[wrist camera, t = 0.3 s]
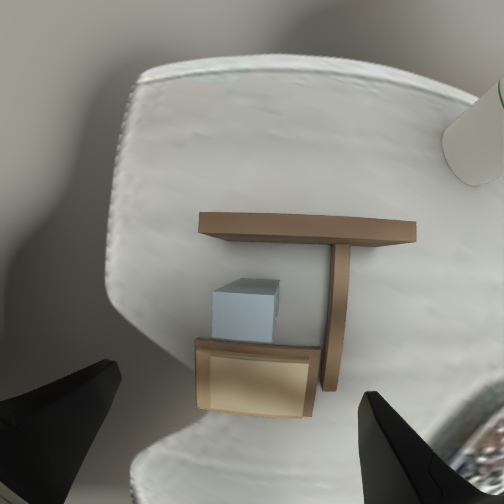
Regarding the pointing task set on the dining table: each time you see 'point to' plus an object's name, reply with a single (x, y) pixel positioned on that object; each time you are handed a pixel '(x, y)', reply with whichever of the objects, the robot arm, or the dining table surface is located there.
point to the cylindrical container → (478, 139)
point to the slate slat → (245, 310)
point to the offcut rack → (278, 356)
